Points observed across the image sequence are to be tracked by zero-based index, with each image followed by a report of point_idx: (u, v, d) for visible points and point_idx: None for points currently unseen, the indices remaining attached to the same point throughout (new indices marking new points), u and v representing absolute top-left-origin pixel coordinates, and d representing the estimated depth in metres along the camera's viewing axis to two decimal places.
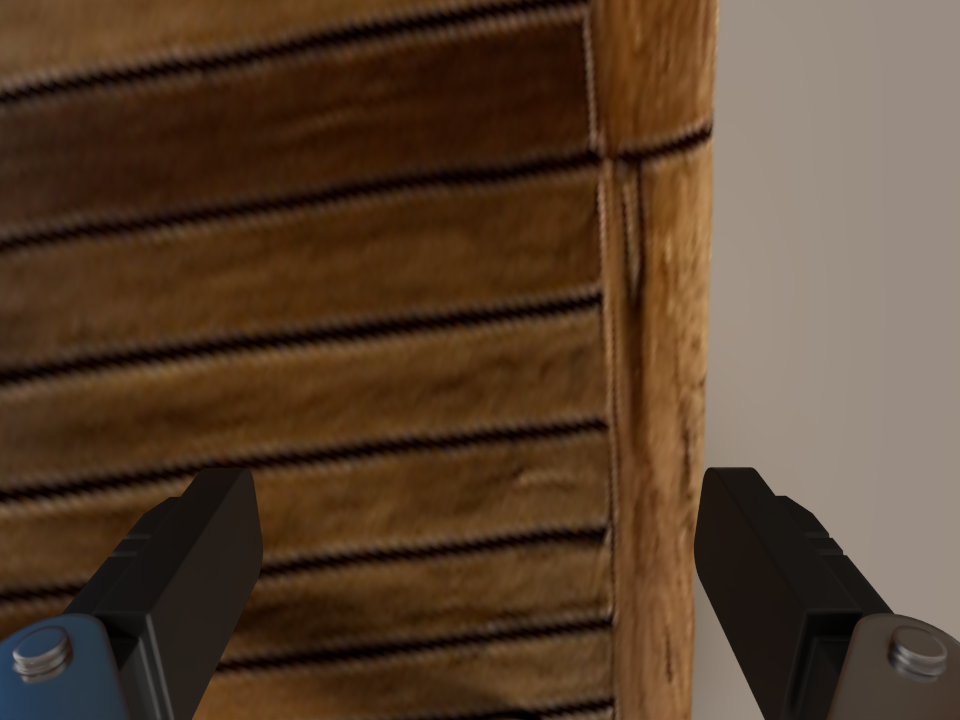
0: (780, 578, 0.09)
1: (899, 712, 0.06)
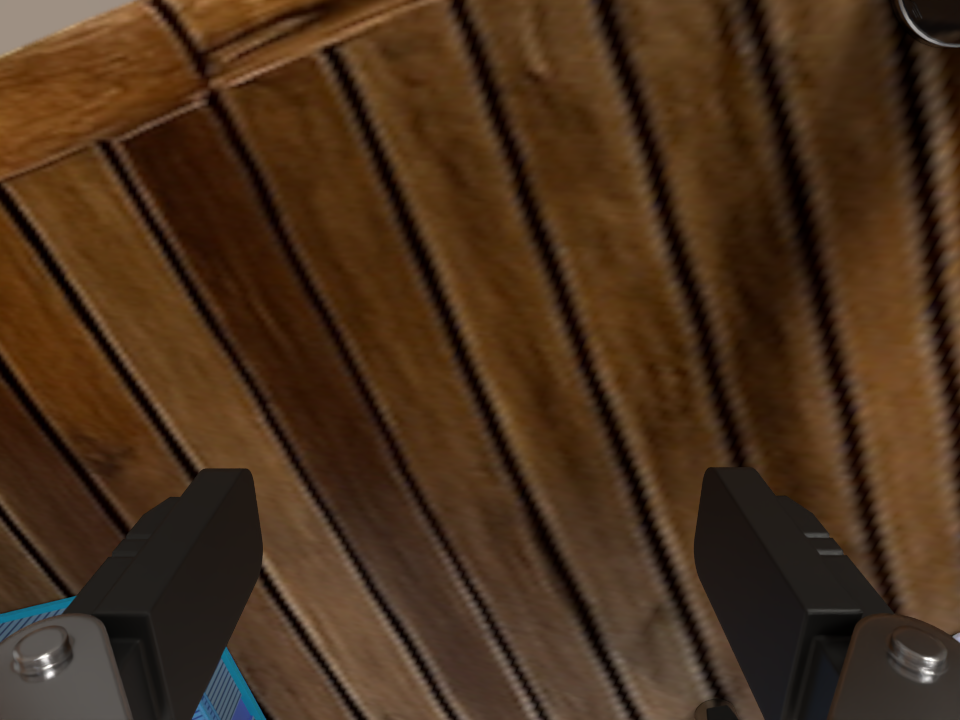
0: (780, 578, 0.09)
1: (899, 712, 0.06)
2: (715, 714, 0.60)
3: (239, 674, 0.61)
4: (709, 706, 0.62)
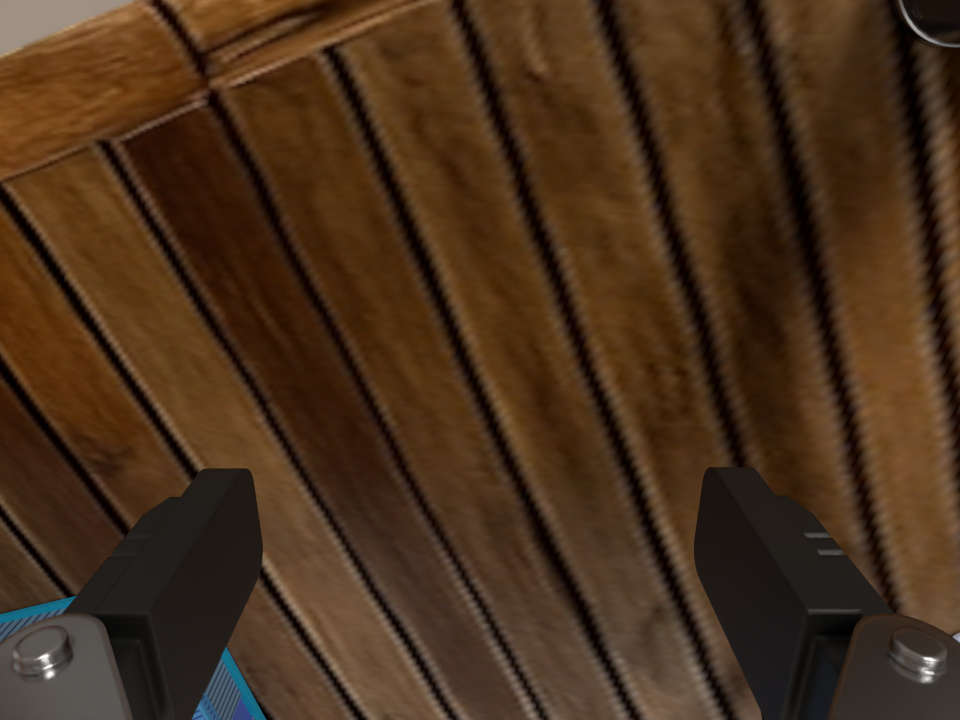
0: (780, 578, 0.09)
1: (899, 712, 0.06)
2: None
3: (239, 674, 0.61)
4: None
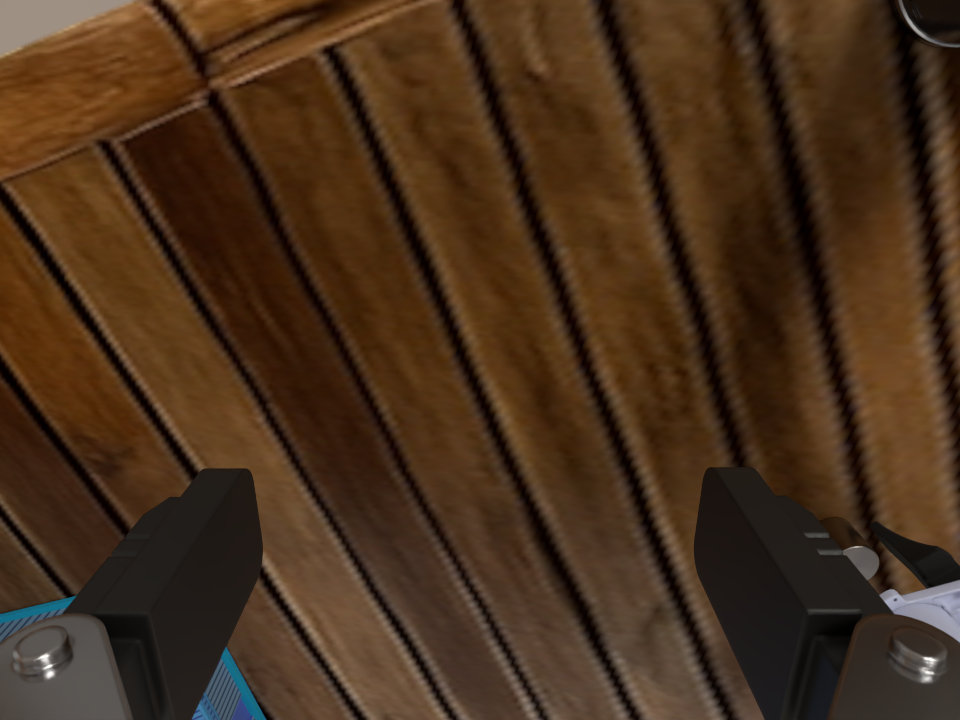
0: (780, 578, 0.09)
1: (899, 712, 0.06)
2: None
3: (239, 674, 0.61)
4: (850, 525, 0.55)
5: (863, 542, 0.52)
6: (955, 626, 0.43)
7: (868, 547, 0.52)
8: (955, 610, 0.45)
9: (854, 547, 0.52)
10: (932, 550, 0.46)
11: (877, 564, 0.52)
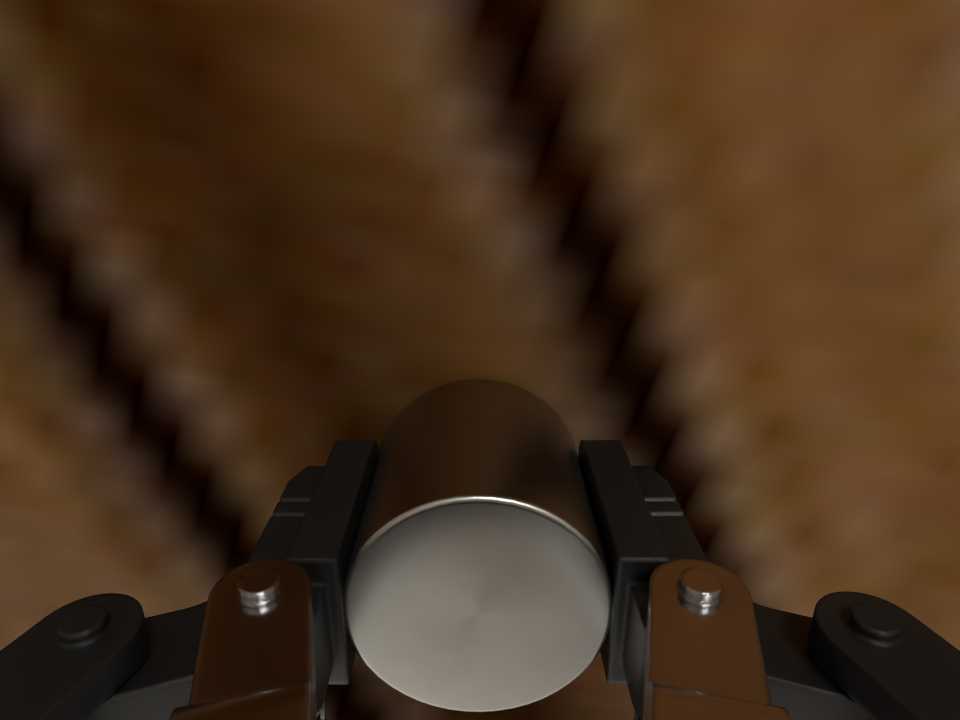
0: (610, 533, 0.09)
1: (699, 648, 0.07)
2: None
3: None
4: (537, 409, 0.12)
5: (527, 477, 0.09)
6: None
7: (538, 502, 0.09)
8: None
9: (449, 501, 0.09)
10: None
11: (604, 601, 0.09)
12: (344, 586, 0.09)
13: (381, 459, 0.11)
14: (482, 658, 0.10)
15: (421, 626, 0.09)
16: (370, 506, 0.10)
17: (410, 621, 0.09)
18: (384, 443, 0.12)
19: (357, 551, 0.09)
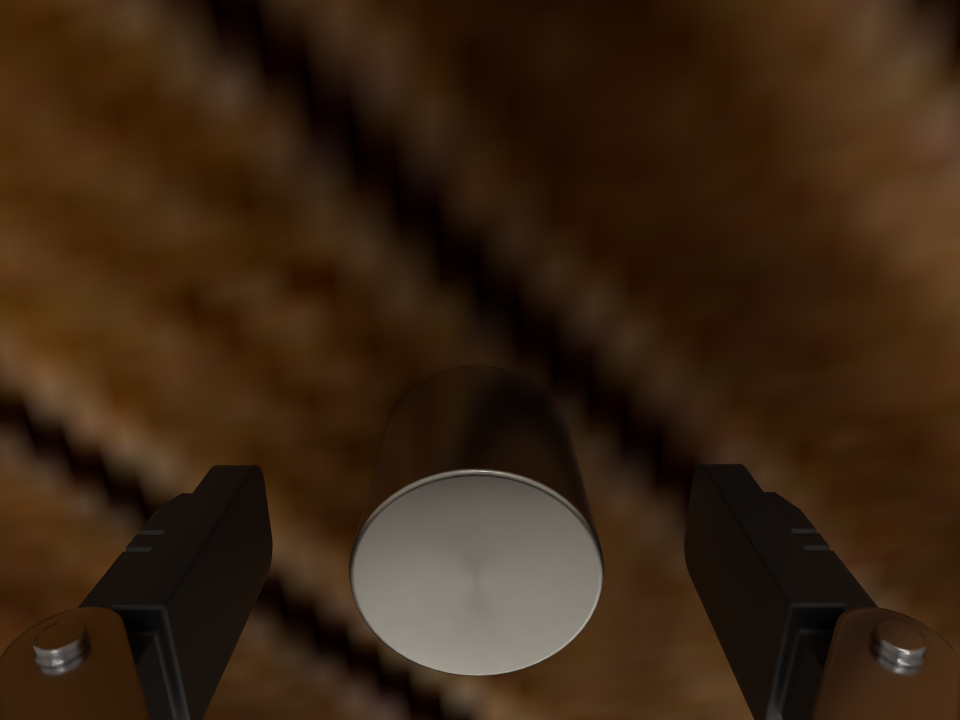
0: (766, 572, 0.09)
1: (882, 704, 0.06)
2: None
3: None
4: (533, 394, 0.12)
5: (523, 453, 0.10)
6: None
7: (532, 476, 0.09)
8: None
9: (450, 474, 0.09)
10: None
11: (594, 569, 0.10)
12: (351, 555, 0.10)
13: (385, 441, 0.12)
14: (481, 624, 0.10)
15: (423, 593, 0.10)
16: (375, 482, 0.11)
17: (413, 588, 0.10)
18: (388, 426, 0.13)
19: (364, 522, 0.10)
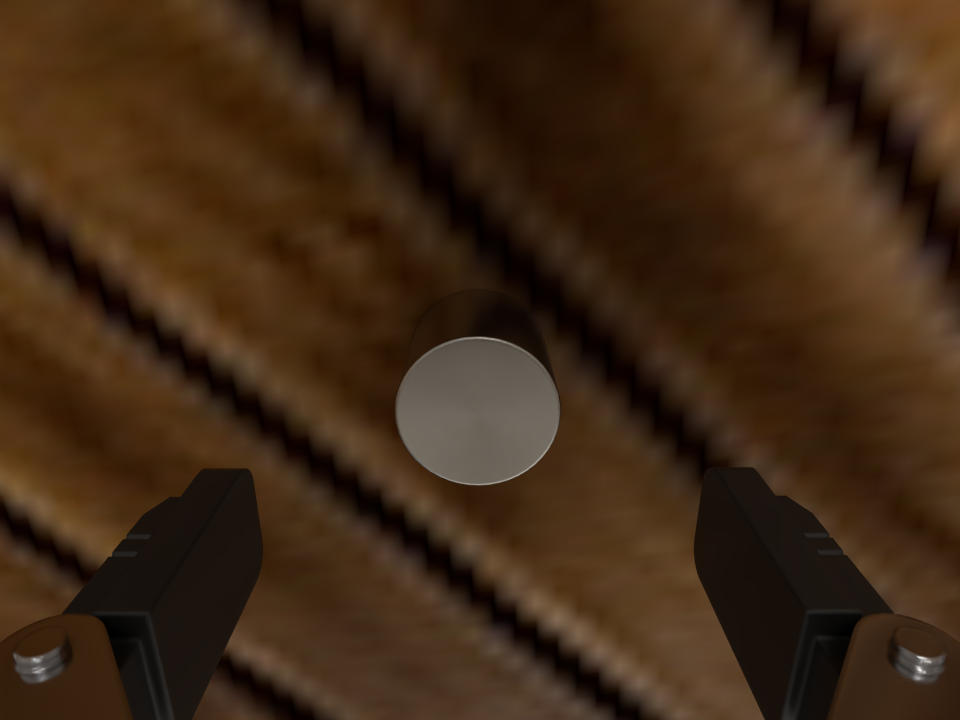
0: (780, 578, 0.09)
1: (899, 712, 0.06)
2: None
3: None
4: (517, 307, 0.18)
5: (508, 331, 0.15)
6: None
7: (513, 342, 0.15)
8: None
9: (461, 339, 0.14)
10: None
11: (554, 406, 0.15)
12: (397, 396, 0.15)
13: (414, 338, 0.17)
14: (480, 446, 0.15)
15: (443, 423, 0.15)
16: (410, 356, 0.16)
17: (436, 420, 0.15)
18: (415, 333, 0.18)
19: (405, 373, 0.15)
